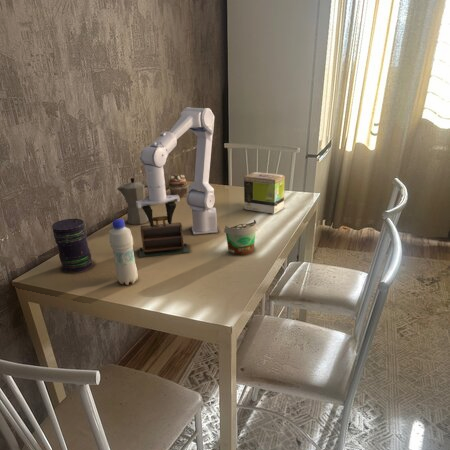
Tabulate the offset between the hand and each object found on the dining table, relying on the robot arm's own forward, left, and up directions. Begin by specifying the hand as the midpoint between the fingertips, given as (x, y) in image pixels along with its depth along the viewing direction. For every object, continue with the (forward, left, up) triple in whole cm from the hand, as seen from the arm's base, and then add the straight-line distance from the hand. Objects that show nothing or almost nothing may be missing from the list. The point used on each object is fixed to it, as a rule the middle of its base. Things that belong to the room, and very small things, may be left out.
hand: (160, 224), depth 143 cm
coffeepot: (+8, -34, -10) cm, 36 cm away
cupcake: (-11, -67, -10) cm, 68 cm away
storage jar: (+29, +6, -10) cm, 31 cm away
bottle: (+12, +21, -10) cm, 26 cm away
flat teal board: (0, +1, -10) cm, 10 cm away
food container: (-27, +9, -10) cm, 31 cm away
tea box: (-46, -35, -10) cm, 58 cm away
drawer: (0, +1, -9) cm, 9 cm away
